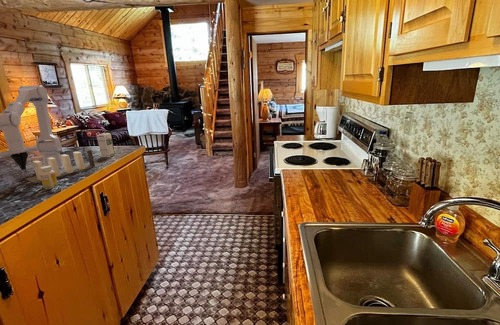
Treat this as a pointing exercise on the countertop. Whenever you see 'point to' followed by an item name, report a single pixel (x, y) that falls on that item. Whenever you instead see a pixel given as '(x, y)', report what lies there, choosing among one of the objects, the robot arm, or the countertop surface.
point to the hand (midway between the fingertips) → (23, 169)
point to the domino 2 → (54, 165)
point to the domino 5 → (90, 157)
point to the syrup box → (105, 144)
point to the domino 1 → (37, 168)
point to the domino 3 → (66, 163)
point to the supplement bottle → (48, 177)
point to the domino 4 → (79, 160)
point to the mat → (62, 172)
